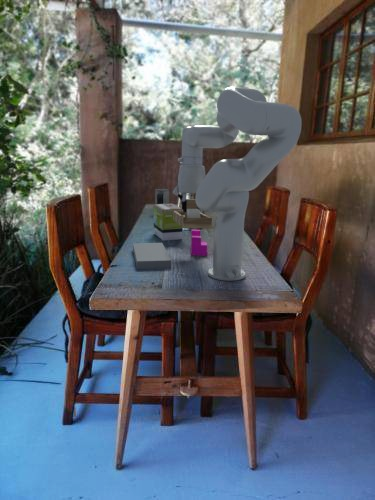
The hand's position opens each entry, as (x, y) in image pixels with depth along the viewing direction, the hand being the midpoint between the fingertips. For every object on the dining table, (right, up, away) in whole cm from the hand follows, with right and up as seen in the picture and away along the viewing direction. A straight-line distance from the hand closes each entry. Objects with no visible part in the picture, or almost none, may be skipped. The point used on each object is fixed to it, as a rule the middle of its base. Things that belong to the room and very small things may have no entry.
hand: (190, 211), depth 152 cm
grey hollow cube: (-14, +8, +101) cm, 102 cm away
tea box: (-11, -9, +39) cm, 42 cm away
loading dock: (-15, -18, +2) cm, 24 cm away
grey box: (+1, -4, -6) cm, 8 cm away
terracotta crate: (-52, -82, +22) cm, 100 cm away
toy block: (+3, -15, +16) cm, 22 cm away
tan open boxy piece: (0, -5, 0) cm, 5 cm away
